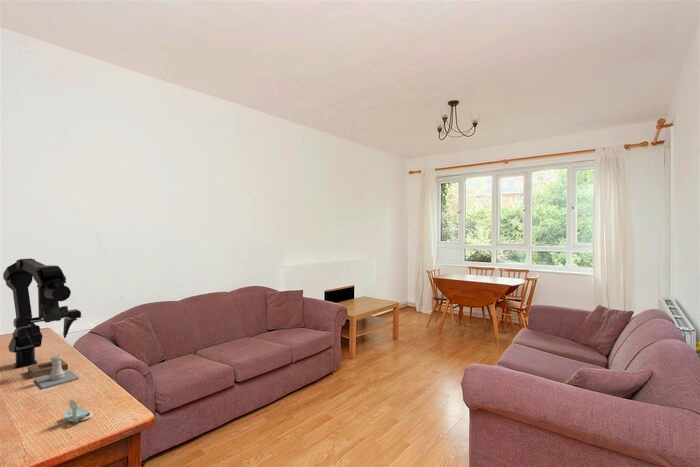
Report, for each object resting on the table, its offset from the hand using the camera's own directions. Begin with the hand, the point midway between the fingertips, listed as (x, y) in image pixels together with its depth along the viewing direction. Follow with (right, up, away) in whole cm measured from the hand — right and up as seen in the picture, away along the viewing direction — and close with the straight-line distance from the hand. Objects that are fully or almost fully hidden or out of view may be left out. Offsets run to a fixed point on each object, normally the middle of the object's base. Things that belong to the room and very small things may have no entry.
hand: (49, 340), depth 131 cm
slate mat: (+9, -12, -7) cm, 16 cm away
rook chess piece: (+9, -12, -7) cm, 16 cm away
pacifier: (+38, -11, -34) cm, 52 cm away
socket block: (-2, -12, +2) cm, 12 cm away
